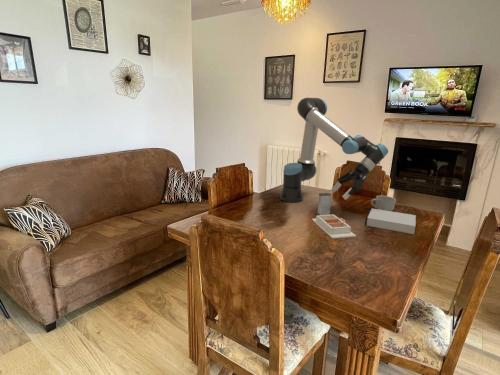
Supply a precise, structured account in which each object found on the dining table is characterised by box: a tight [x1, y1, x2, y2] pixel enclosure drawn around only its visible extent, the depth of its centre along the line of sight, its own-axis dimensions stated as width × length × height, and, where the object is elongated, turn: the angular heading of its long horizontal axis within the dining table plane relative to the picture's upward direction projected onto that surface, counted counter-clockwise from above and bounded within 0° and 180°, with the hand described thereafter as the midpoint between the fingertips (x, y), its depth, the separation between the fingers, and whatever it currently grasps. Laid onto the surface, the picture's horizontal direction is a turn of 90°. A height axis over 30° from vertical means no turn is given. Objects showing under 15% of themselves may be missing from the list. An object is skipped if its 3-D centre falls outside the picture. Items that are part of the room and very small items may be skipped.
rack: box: [311, 213, 357, 240], centre depth 148 cm, size 12×24×4 cm, turn 12°
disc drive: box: [365, 207, 417, 235], centre depth 154 cm, size 18×22×5 cm
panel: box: [317, 192, 332, 215], centre depth 166 cm, size 6×3×12 cm, turn 102°
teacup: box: [370, 194, 397, 212], centre depth 173 cm, size 14×11×8 cm
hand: (337, 194), depth 165 cm, fingers open, 13 cm apart
